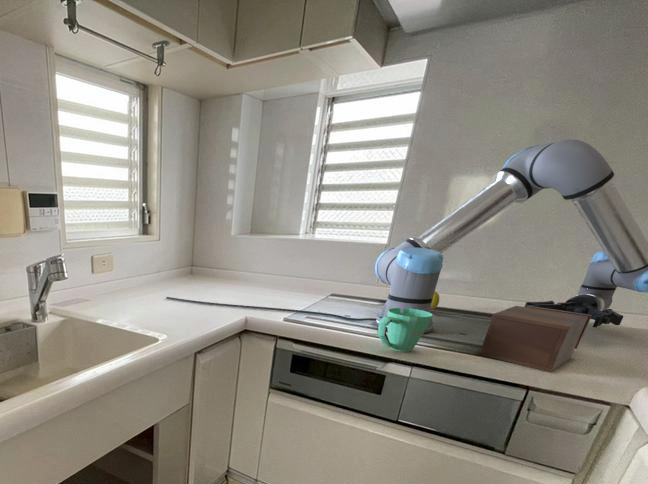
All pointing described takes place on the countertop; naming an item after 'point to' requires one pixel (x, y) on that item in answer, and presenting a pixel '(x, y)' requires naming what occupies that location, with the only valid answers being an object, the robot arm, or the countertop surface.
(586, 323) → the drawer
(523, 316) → the cabinet
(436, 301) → the lemon
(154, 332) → the countertop surface
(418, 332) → the mug
